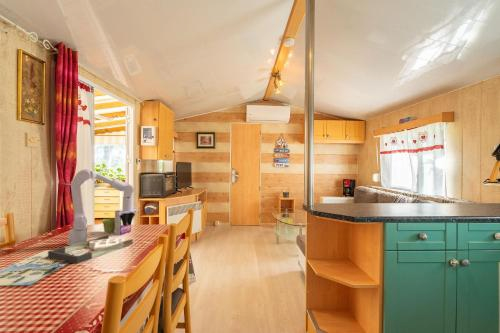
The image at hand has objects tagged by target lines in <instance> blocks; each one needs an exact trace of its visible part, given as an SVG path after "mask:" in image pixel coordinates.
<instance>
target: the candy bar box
mask: <svg viewBox="0 0 500 333" xmlns="http://www.w3.org/2000/svg"><path fill="white" fill-rule="evenodd" d="M120 211H123V208H122V209H118V210H115V211H114V219H115V231H114V235H115V236H123V235H125V234H128V233H130V232H131V231H132V224H131V225H128V224H127V226H123V222H122V219H121V217H120V216H118V215H117V212H120Z"/></svg>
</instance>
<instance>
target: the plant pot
mask: <svg viewBox="0 0 500 333" xmlns="http://www.w3.org/2000/svg"><path fill="white" fill-rule="evenodd" d="M102 224H103V232H104V233H105V234H112V233H115V218H104V219H102Z"/></svg>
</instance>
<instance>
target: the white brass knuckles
mask: <svg viewBox="0 0 500 333" xmlns="http://www.w3.org/2000/svg"><path fill="white" fill-rule="evenodd" d="M124 241H125V238H122V237H121V238H120V237H119V238H115V237H114V238H111V237H110V238H109V239H101V240H93V241H90V242H89V246H88V247H89V249H93V251H96V250H99V249H102V248H105V247H108V246H112V245H115V244H118V243H121V242H124Z"/></svg>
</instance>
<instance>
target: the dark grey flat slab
mask: <svg viewBox="0 0 500 333" xmlns="http://www.w3.org/2000/svg"><path fill="white" fill-rule="evenodd" d="M65 247H66V246H63V247H60V248H56V249H52V250H48V251H47V258H49V257H50V259H53V258H54V260H58V259H59V260H58V261H62V260H65V261H64V262H67V261H69V262H68V263H71V262H72V264H80V263H83V262H86V261H89V260H92V259H93V258H92V253H91V252H92V251H90V252H87V253H84V254H81V255H77V256H74V255H75V254H72V255H70V254H71V253H68V252H67V253H65Z"/></svg>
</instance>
